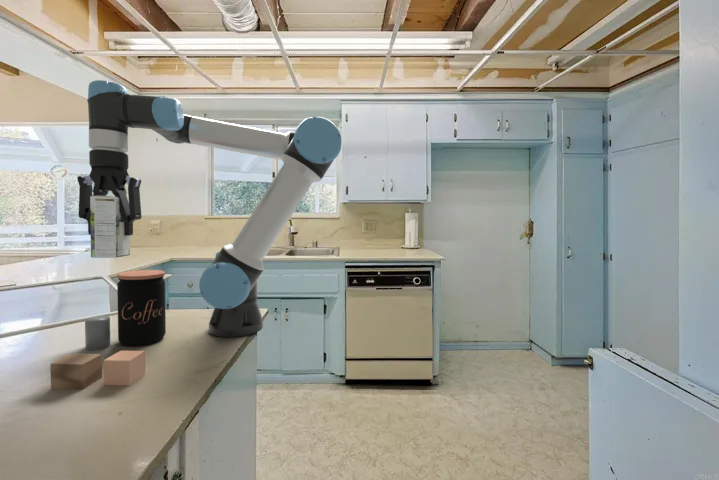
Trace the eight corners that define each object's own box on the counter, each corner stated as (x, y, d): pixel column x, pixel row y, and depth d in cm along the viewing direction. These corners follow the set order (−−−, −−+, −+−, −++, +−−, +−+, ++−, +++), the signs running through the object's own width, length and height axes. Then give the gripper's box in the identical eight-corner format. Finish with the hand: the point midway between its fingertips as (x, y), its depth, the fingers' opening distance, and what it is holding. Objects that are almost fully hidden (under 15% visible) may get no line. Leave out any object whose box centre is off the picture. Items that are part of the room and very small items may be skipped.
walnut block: (102, 378, 71) (101, 354, 71) (82, 390, 66) (82, 364, 66) (72, 377, 71) (72, 353, 71) (51, 389, 66) (50, 363, 66)
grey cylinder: (115, 343, 90) (114, 316, 89) (100, 350, 85) (100, 322, 84) (95, 342, 90) (95, 316, 89) (80, 350, 85) (79, 321, 84)
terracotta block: (145, 374, 73) (144, 351, 73) (129, 385, 68) (129, 360, 68) (121, 373, 73) (120, 350, 73) (103, 385, 68) (103, 360, 68)
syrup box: (106, 255, 87) (104, 196, 86) (131, 255, 87) (129, 197, 86) (90, 258, 81) (88, 195, 80) (117, 258, 81) (115, 195, 80)
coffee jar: (115, 350, 85) (113, 277, 84) (121, 336, 95) (120, 270, 94) (165, 344, 90) (164, 274, 89) (166, 331, 100) (165, 269, 98)
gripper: (158, 155, 86) (159, 248, 88) (81, 153, 86) (83, 246, 88) (139, 149, 79) (141, 251, 80) (55, 147, 79) (58, 249, 80)
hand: (111, 248), depth 84 cm, fingers closed on syrup box, 6 cm apart
